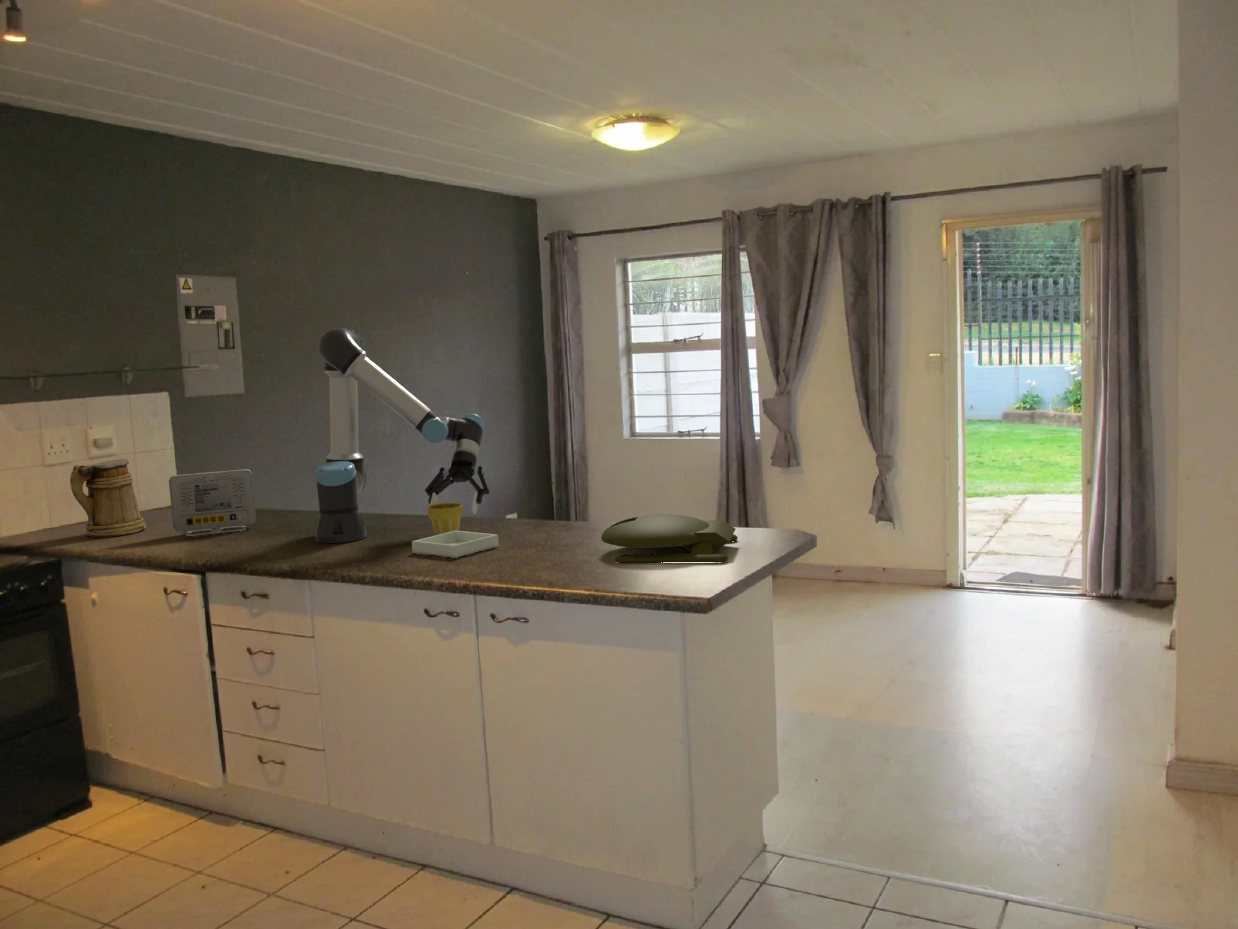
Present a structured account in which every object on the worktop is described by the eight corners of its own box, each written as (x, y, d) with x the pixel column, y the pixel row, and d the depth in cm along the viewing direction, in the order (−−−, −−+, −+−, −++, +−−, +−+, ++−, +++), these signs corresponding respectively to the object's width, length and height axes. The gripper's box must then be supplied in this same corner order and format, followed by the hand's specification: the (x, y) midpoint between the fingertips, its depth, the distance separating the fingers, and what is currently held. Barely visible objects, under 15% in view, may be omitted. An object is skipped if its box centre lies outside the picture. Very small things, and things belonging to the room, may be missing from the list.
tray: (412, 553, 278) (411, 541, 277) (456, 542, 291) (455, 530, 291) (455, 558, 268) (454, 546, 267) (498, 546, 281) (497, 534, 281)
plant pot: (457, 540, 294) (455, 508, 293) (424, 541, 296) (422, 508, 295) (469, 533, 304) (467, 502, 303) (437, 534, 306) (435, 503, 305)
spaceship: (738, 541, 275) (737, 506, 273) (727, 565, 245) (726, 526, 244) (615, 542, 282) (613, 508, 281) (590, 566, 252) (587, 528, 251)
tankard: (157, 528, 344) (150, 457, 341) (98, 542, 323) (89, 466, 320) (121, 527, 352) (113, 457, 349) (60, 540, 331) (51, 466, 328)
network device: (256, 525, 340) (251, 468, 337) (257, 529, 331) (251, 470, 329) (175, 534, 331) (169, 475, 328) (173, 538, 323) (167, 477, 320)
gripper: (506, 462, 314) (494, 518, 301) (431, 465, 319) (417, 519, 306) (499, 448, 308) (488, 504, 296) (424, 450, 313) (409, 506, 300)
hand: (452, 512), depth 301 cm, fingers open, 13 cm apart
